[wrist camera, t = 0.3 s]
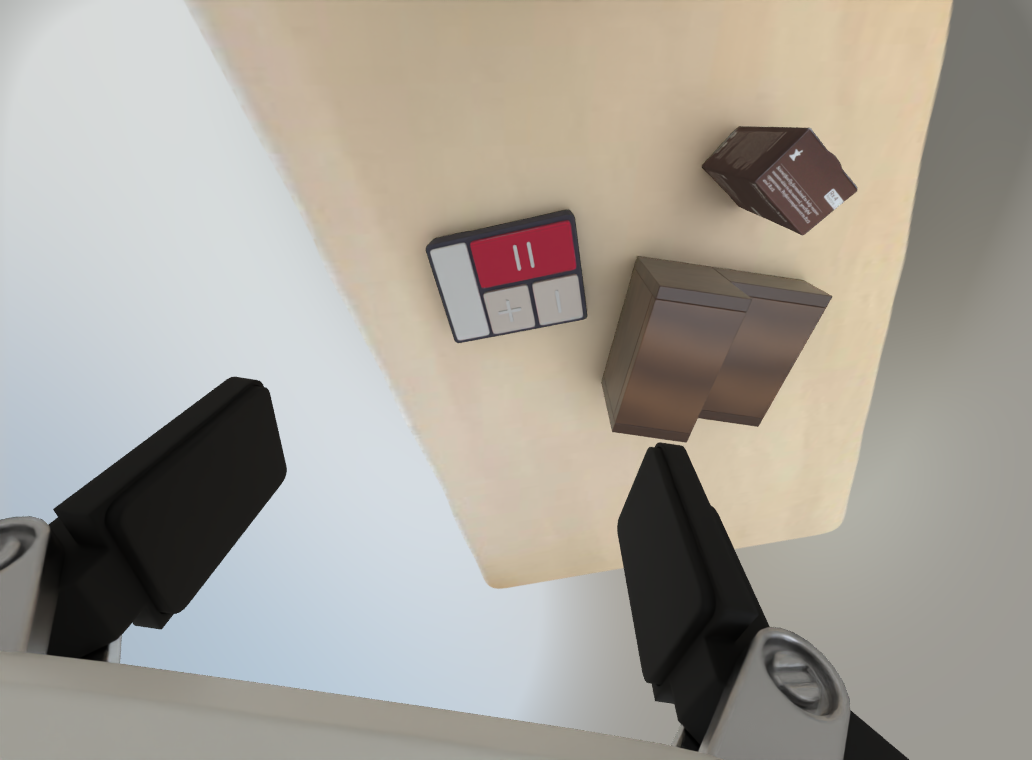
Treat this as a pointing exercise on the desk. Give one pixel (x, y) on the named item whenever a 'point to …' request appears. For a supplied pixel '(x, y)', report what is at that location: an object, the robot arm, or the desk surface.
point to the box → (780, 175)
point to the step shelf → (703, 346)
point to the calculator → (510, 276)
